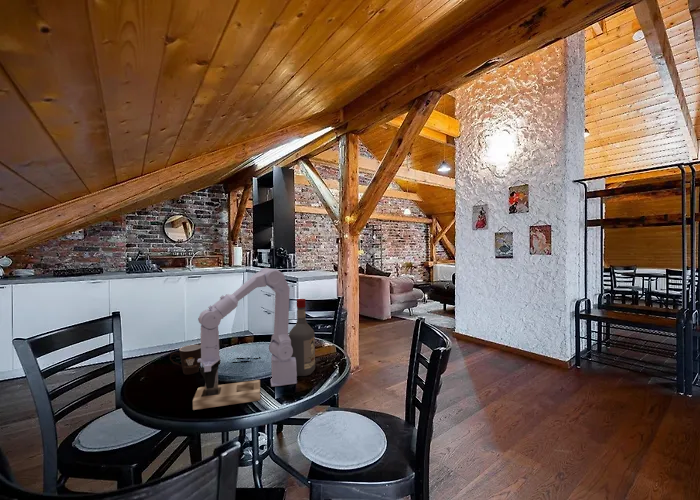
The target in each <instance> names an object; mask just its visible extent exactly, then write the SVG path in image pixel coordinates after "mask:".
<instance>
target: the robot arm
mask: <svg viewBox="0 0 700 500" xmlns="http://www.w3.org/2000/svg"><path fill="white" fill-rule="evenodd" d="M267 286H268V287H269V288H270V289H271V290H272V291H273V292H274V293H275V294H274V295H275V298H274V300H275V301H274V322H273V323H274V325H273V330H274V331H273V334H272V335H271V340H270V343H269V346H268V351H269V353H270V354H271V358H270V359H271V361H270V363H271V365H270V366H271V377H272V378H271V377H270V378H271V379H270V387H281V386H287V385H295V384H298V380H297V379H298V378H297V377H298V376H297V371H296V358H295V357H291V356H292V354H293V348H292V346H291V339H290V337H289V319H290V317H289V316H290V313H289V312H290V293H291V292H290V291H291V290H290V286H289V284H288V282H287V280H286V278H285V274H284V273H283V272H282V271H280V270H279V269H276V268H269V267H264V268H262V269H260V270H259V271H257V272H255V273H254V274H253V275H252V276H251V277H250V278H249V279H248V280H247V281H245V282H244V283H243V284H242V285H240V287H239V288H237V289H236V290H235V291H234V292H232V293H231V294H229V293H228V294H224V295H223V294H222V295H221V296H220V297H219V300H218V301H216V302H215V303H214V304H212V305H209V306H208V307H207V308H208V309H205V310H203V311H201V312H200V314H199V316H198V319H197V321H198V323H199V324H200V345H201V358H199V359H198V360H197V362H201V365H202V366H201V367H200V371H199V372H200V374H201V375H202V377H203V379H204V385H205V384H206V387H207V389H208V388H214V384H215V376H216V372H217V370H218V371H219V366H220V365H221V364H220V363H221V361H222V360H220V359H221V356H220V338H219V336H220V334H219V333H220V332H219V325H220V324H221V320H223V319H224V318H225V317H227V315H229V314H230V313H231V312H232V311H234V310H236V308H237V307H238V306H239V305H238V304H239V301H241V300H242V299H243V298H245V297H246V296H248V294H250V293H252V292H253V291H254V290H256V288H265V287H267ZM212 366H217V367H212Z"/></svg>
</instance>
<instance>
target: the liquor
mask: <svg viewBox="0 0 700 500" xmlns="http://www.w3.org/2000/svg"><path fill="white" fill-rule="evenodd" d="M306 307H307V305H306V298H298V299H296V316H297V317H296V323H295V324H294V325H293V327H292V328H291V329H290V330H289V332H288V335H289V337H290V339H291V346H292V348H293V354H292V356H291V357H295V358H296V371H297V377H298V376H299V377H307V376H311V374H312V373H313V372H314V371H315V369H316V348H315V347H316V344H315V343H316V342H315V341H316V340H315V337H316V336H315V329H313V328H312V326H311V325H310V324H308V322H307V319H306V314H307V313H306Z"/></svg>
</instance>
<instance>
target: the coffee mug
mask: <svg viewBox="0 0 700 500" xmlns="http://www.w3.org/2000/svg"><path fill="white" fill-rule="evenodd" d="M173 355H177V356H179V357H180V362H181V364H180V363H179V362H176V361H175V360H173V359H172V357H173ZM199 358H201V344H189V345H185V346H182V347H180V348H179V352H176V351H175V352H172V353H170V354H169V360H170V362H172V363H173V364H175V365H176V366H180V367H181V368H182V374H184V375H193V374H197V373H199V372H200V371H199V367H200V368H201V365H202V363H201V362H197V360H198V359H199Z"/></svg>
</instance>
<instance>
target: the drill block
mask: <svg viewBox="0 0 700 500" xmlns="http://www.w3.org/2000/svg"><path fill="white" fill-rule="evenodd" d="M258 401H261V379H255V380H249V381H248V380H247V381H246V380H245V381H240V382H232V383H225V384H218V395H211V396H205V386H200V387H198V388H197V390H196V391H195V394H194V396H193V398H192V410H193V411H195V410H203V409H209V408H216V407H224V406H229V405H230V406H231V405H237V404H245V403H252V402H258Z"/></svg>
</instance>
